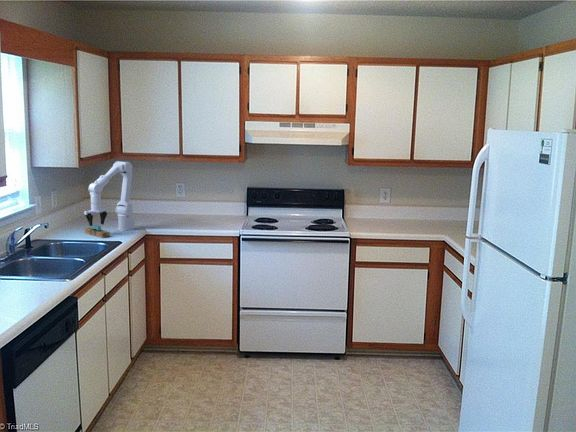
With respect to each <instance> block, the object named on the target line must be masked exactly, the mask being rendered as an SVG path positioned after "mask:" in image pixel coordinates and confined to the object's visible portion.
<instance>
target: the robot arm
mask: <svg viewBox="0 0 576 432" xmlns="http://www.w3.org/2000/svg"><path fill="white" fill-rule="evenodd" d="M117 173H119V174H120V175H121V176H122V184H121V194H120V201H118V202H117V204H116V205H117V206H116V207H115V214H116V215H117V219H118V220H117V221H118V222H117V223H118V227H117V228H115V230H118V231H121V232H124V231H131V230H136V228H135V218H134V216H133V215H132V214H133V212H134V210H133V204H132V203H131V199H130V198H131V189H132V181H133V165H132V163H131V162H130V161H120V160H116V161H115V162H114V163H113V164H112V166H111V168H110V169H109V170H108V171H107V172H106V173H105V174H101V175H100V176H99V178H97V179H96V180H95V181H94V182H91V183H90V184H89V185H88V188H87V190H88V192H89V195H90V210H84V211H83V214H84V216H85V217H86V219H87V222H88V224H89V226H90V227H92V225H93V219H94V215H93V214H99V217H100V224H101V225H104V224H105V222H106V221H105V220H106V218H107V216H108V212H109V209H108V208H102V201H101V200H102V198H101V197H102V196H101V195H102V194H101V193H102V192H103V190H104V187H105V186H107V184H109V183H110V179H111V178H112V177H113V176H115V175H116V174H117Z"/></svg>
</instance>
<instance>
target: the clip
mask: <svg viewBox="0 0 576 432" xmlns="http://www.w3.org/2000/svg"><path fill="white" fill-rule="evenodd" d="M91 227H92V228H93V230H97V231H101V230H102V226H101V225H99V224H94V223H93V224H92V226H91Z"/></svg>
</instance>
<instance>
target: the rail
mask: <svg viewBox="0 0 576 432" xmlns="http://www.w3.org/2000/svg"><path fill="white" fill-rule="evenodd" d="M83 229H84V230H83V231H84V234H86V235H90V236H93V237H96V238H97V237H98V238H101V239H104V238H110V236H111V233H110V231H106V230H103V229H101V231H97V230H93V228H92V226H90V227H85V228H83Z"/></svg>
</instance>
